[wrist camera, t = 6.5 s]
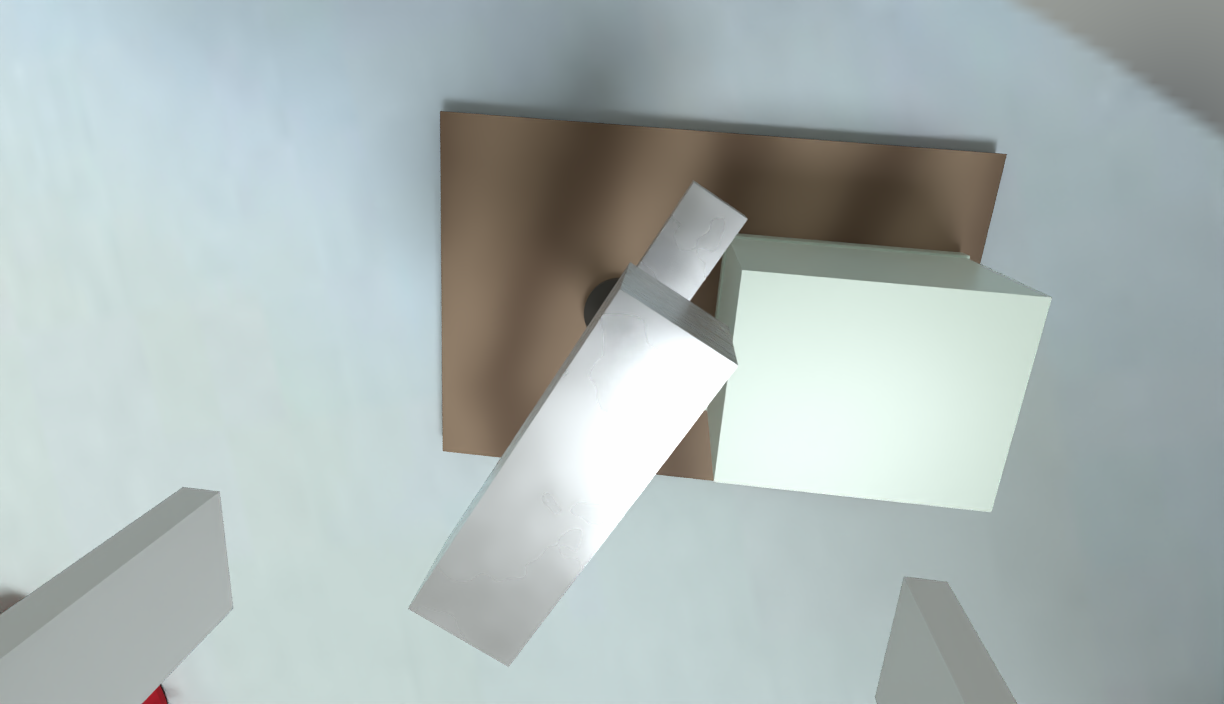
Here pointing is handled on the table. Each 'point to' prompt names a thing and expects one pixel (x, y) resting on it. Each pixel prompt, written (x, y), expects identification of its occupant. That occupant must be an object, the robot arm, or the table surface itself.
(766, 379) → the pale green block
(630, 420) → the grey t-shaped stand
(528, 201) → the board
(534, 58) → the table surface
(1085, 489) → the table surface
